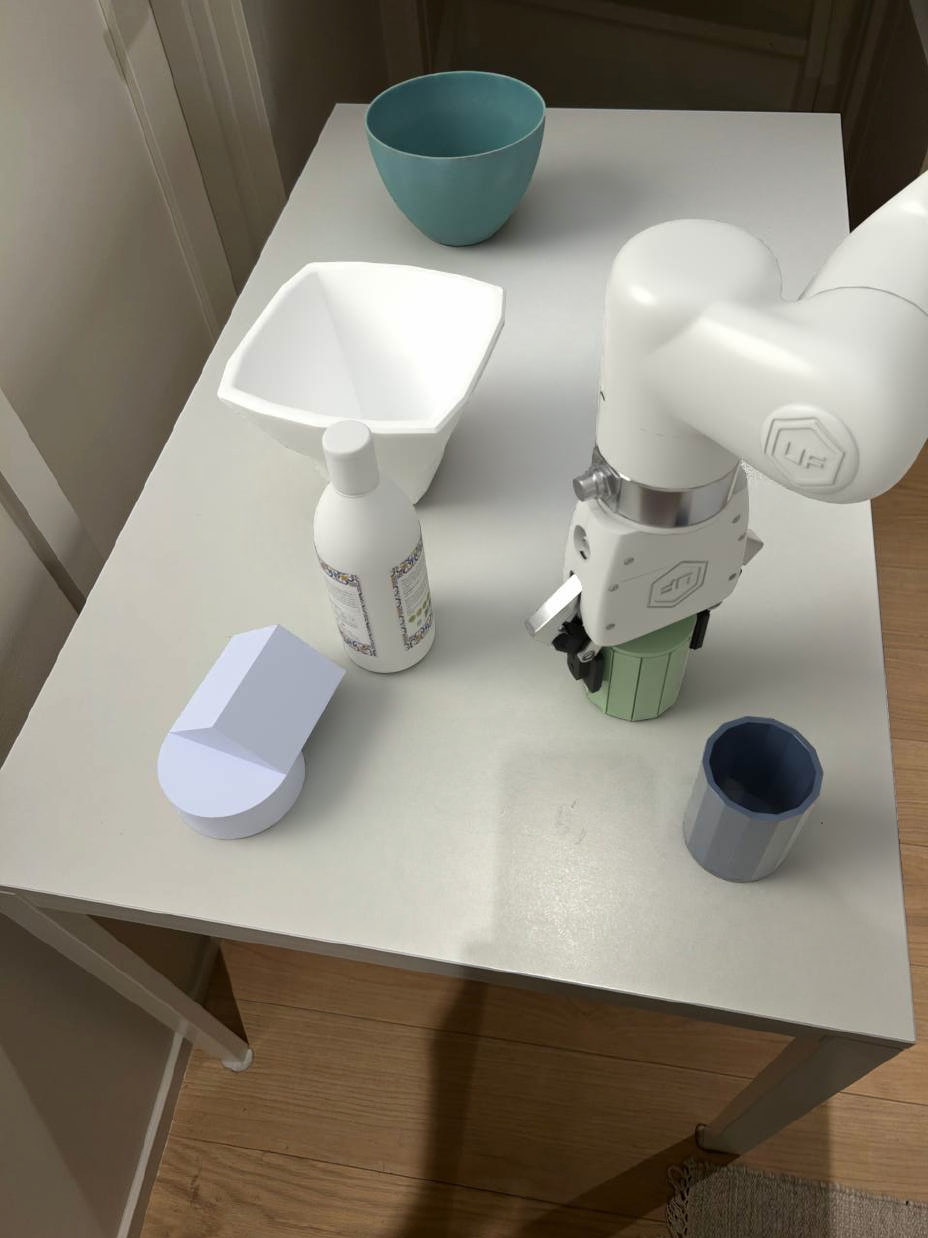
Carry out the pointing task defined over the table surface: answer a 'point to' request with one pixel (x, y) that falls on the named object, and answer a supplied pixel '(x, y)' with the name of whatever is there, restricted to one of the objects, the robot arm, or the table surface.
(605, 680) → the green cup
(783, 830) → the blue cup
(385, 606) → the bath foam
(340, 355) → the bowl
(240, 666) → the wedge on round base
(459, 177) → the plant pot
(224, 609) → the table surface
